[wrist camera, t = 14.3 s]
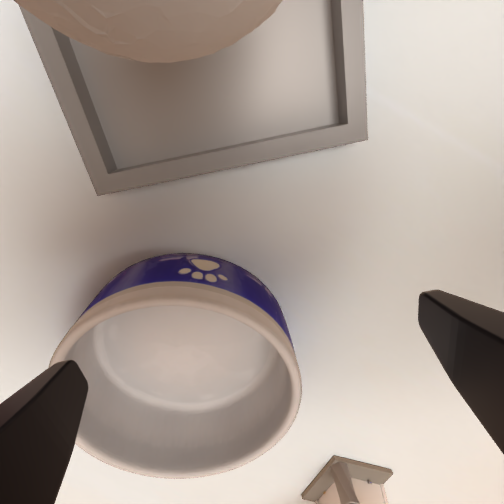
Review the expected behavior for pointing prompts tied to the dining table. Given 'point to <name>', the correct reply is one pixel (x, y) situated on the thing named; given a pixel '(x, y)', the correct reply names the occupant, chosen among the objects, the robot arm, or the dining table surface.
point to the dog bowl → (183, 368)
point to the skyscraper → (348, 483)
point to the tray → (214, 97)
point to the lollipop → (154, 25)
